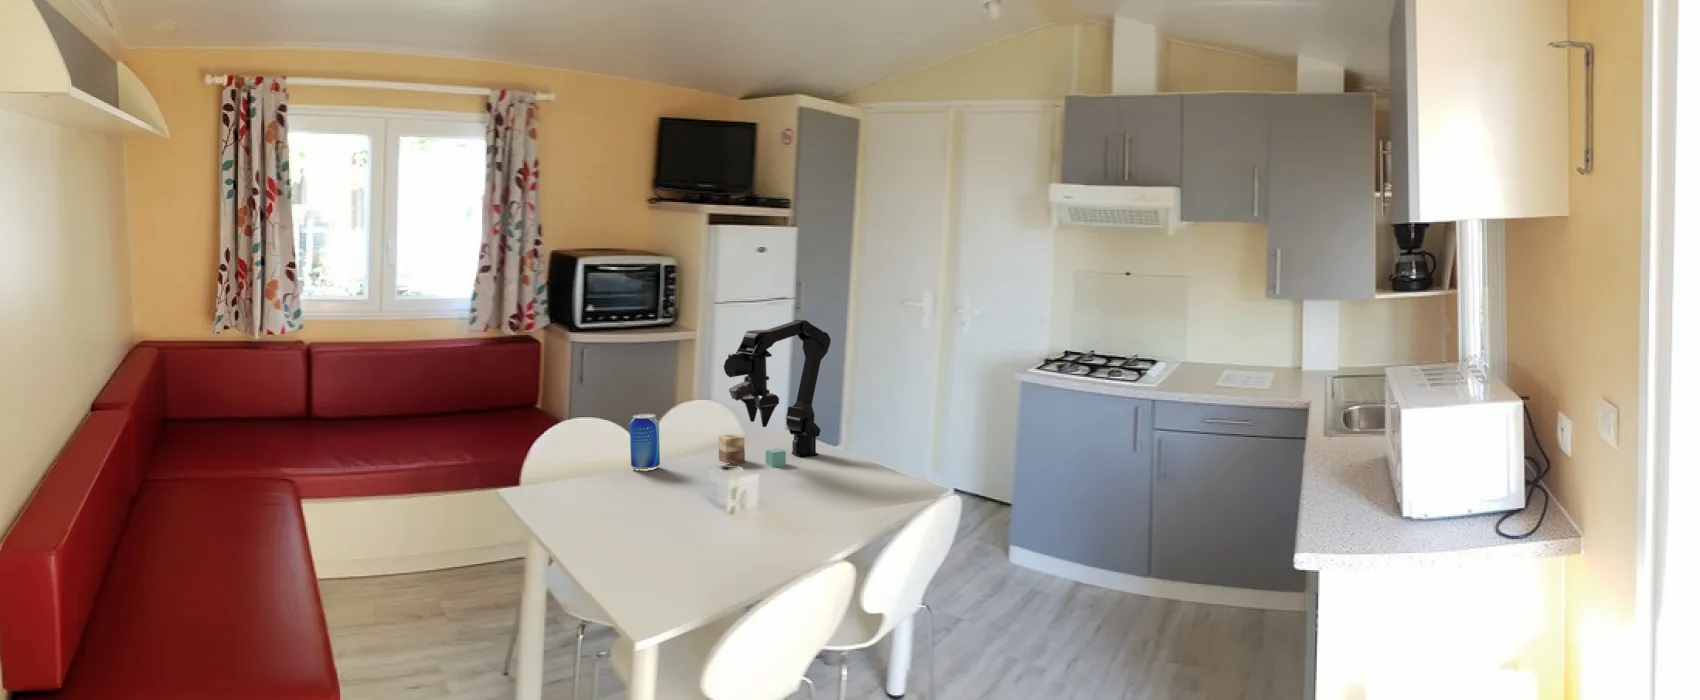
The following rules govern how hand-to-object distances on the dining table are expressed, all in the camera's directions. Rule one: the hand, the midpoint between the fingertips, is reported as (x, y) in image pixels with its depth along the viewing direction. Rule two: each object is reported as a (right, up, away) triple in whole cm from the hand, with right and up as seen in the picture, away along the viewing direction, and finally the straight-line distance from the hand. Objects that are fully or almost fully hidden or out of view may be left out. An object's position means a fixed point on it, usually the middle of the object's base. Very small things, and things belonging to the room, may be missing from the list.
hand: (758, 424), depth 308 cm
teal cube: (+5, -12, +1) cm, 13 cm away
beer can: (-33, -13, -4) cm, 36 cm away
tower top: (-9, -8, +5) cm, 13 cm away
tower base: (-9, -12, +5) cm, 16 cm away
